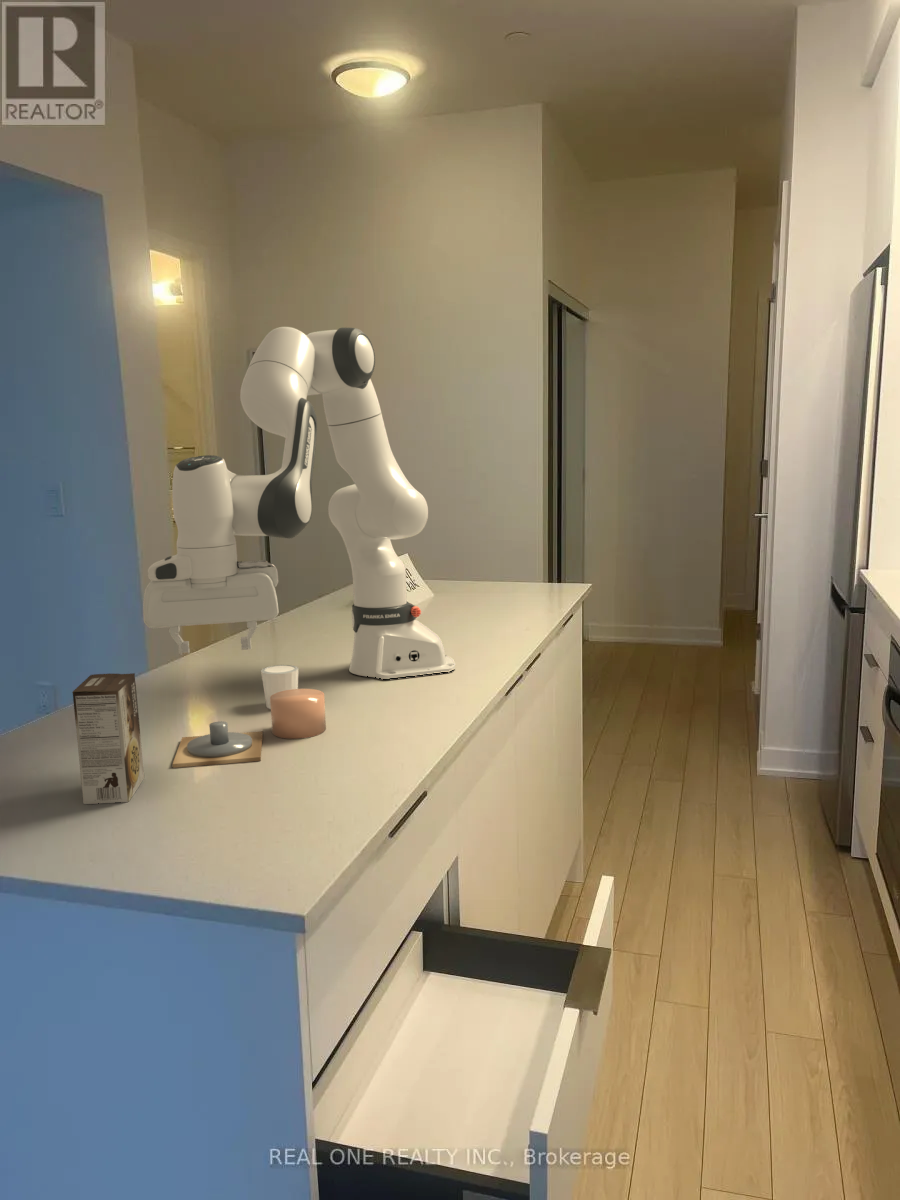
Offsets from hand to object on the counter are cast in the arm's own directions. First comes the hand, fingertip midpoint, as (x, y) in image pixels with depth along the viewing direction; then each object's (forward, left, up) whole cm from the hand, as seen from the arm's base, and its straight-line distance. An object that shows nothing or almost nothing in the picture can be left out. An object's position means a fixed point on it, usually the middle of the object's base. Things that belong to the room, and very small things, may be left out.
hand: (215, 651), depth 144 cm
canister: (-12, -7, -16) cm, 22 cm away
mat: (0, 0, -16) cm, 16 cm away
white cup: (-9, -23, -16) cm, 30 cm away
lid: (0, 0, -16) cm, 16 cm away
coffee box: (+14, +15, -16) cm, 26 cm away
